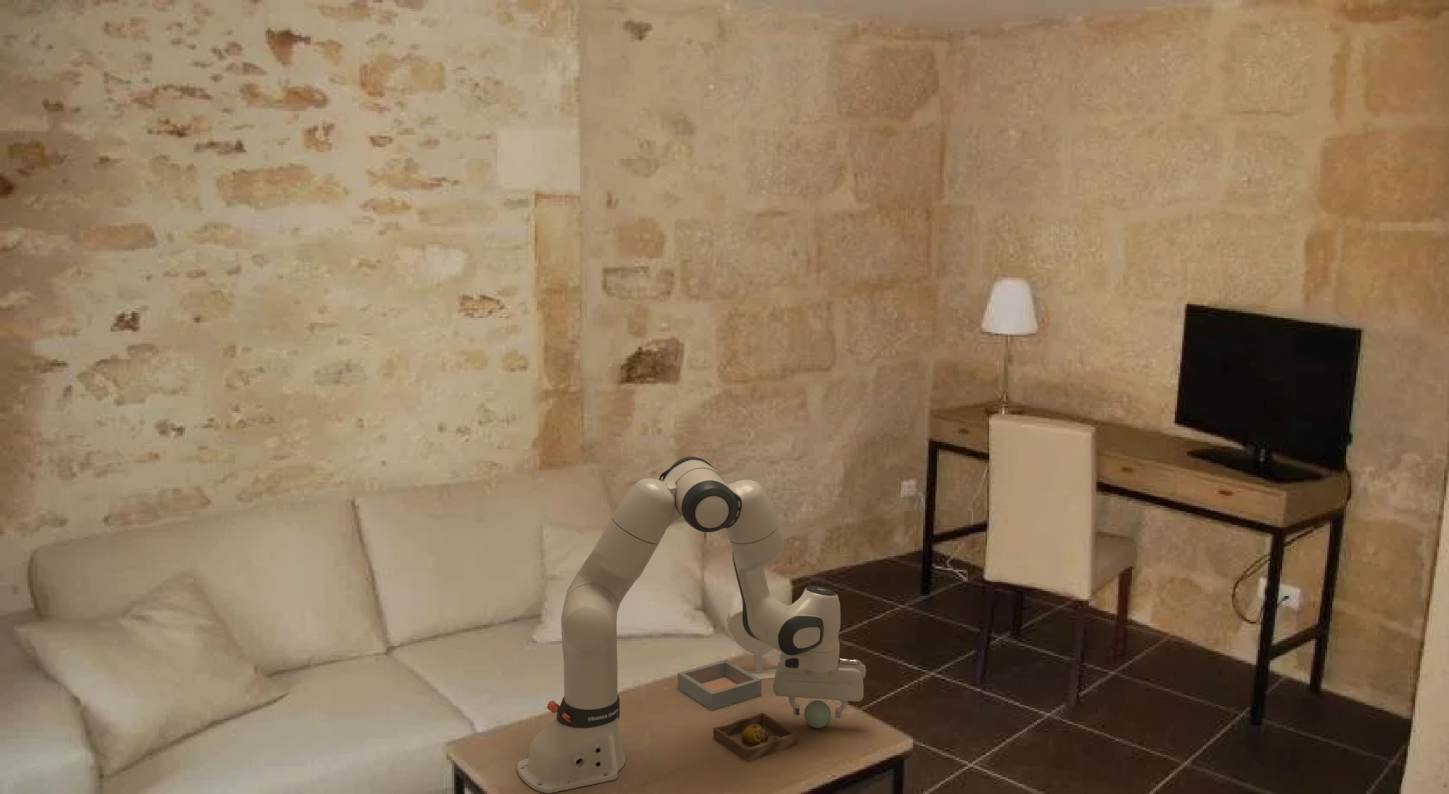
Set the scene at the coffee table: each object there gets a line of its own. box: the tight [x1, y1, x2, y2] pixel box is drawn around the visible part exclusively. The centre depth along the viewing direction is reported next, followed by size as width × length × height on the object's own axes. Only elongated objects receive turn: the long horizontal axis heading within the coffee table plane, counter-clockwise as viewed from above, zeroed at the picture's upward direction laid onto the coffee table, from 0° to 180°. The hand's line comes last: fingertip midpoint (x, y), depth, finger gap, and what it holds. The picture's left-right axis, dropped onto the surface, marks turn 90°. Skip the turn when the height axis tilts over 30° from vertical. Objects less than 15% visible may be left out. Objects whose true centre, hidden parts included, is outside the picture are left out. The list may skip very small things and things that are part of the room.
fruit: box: [740, 724, 781, 747], centre depth 245 cm, size 8×8×4 cm
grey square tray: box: [677, 659, 762, 711], centre depth 270 cm, size 14×14×4 cm
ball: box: [803, 699, 832, 729], centre depth 253 cm, size 6×6×6 cm
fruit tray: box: [712, 712, 799, 763], centre depth 245 cm, size 14×13×2 cm
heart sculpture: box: [726, 604, 777, 680], centre depth 279 cm, size 16×5×18 cm, turn 102°
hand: (817, 715), depth 253 cm, fingers open, 8 cm apart
